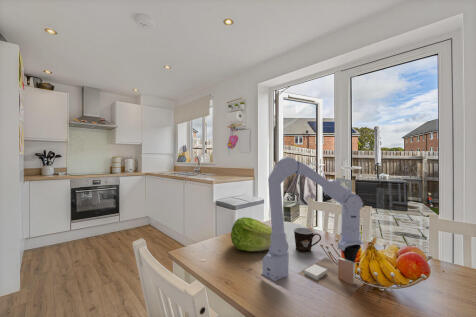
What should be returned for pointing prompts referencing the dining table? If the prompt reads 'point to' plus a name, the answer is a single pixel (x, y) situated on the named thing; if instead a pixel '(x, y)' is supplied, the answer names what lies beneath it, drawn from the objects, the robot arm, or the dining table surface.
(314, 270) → the tile
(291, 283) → the dining table surface
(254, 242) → the lettuce
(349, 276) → the tile
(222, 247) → the dining table surface
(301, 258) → the dining table surface
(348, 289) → the board
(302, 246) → the coffee mug
